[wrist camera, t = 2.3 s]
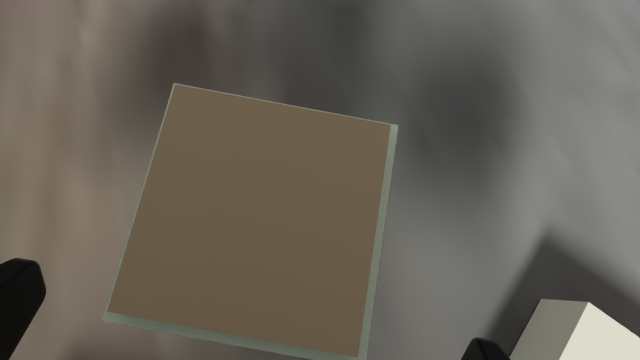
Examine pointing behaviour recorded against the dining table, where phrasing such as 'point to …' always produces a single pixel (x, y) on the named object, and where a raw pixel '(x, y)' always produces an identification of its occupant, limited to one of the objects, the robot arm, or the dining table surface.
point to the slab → (574, 334)
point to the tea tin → (258, 227)
